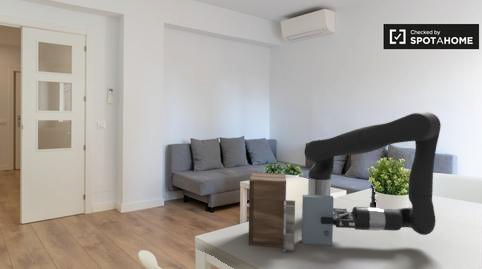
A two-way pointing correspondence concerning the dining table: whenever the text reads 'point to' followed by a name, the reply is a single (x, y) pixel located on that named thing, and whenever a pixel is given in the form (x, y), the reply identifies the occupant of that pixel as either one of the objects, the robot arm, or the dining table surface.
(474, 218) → the dining table surface
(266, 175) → the cabinet
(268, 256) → the dining table surface
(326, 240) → the door
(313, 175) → the robot arm
